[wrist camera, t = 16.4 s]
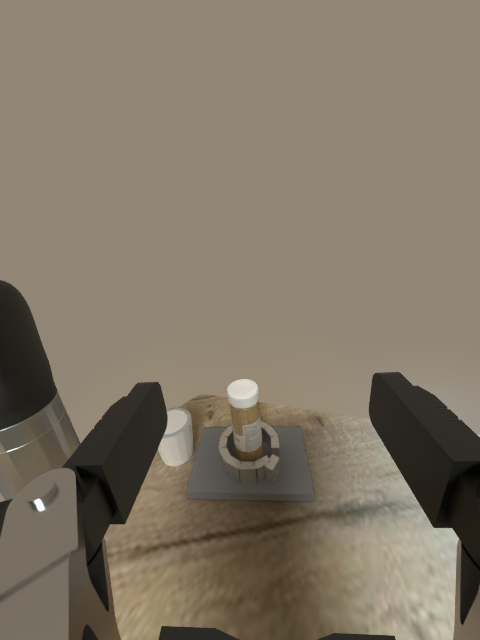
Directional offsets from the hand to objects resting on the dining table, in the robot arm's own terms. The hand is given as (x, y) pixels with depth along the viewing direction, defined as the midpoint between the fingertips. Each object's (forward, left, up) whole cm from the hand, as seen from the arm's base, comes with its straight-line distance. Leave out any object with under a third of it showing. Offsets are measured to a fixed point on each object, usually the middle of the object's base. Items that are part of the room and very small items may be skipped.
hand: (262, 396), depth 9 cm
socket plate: (-3, +21, -30) cm, 37 cm away
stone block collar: (-3, +21, -29) cm, 36 cm away
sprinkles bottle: (-3, +21, -29) cm, 36 cm away
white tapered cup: (-16, +23, -30) cm, 42 cm away
